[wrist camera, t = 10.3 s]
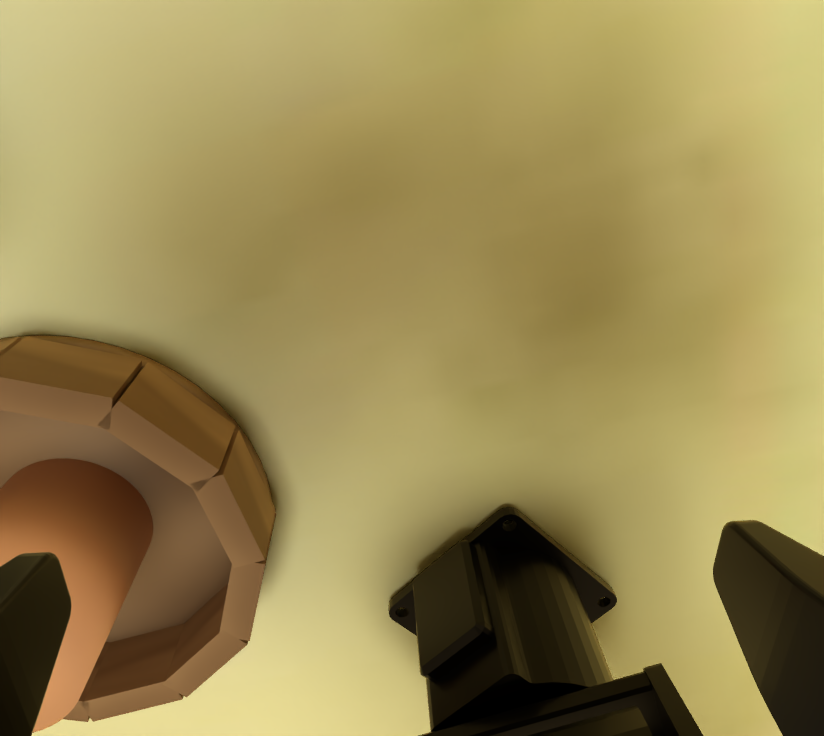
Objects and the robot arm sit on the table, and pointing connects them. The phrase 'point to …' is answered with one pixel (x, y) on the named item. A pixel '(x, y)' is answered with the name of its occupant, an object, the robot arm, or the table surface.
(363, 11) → the table surface
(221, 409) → the round tray
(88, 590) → the cylinder
